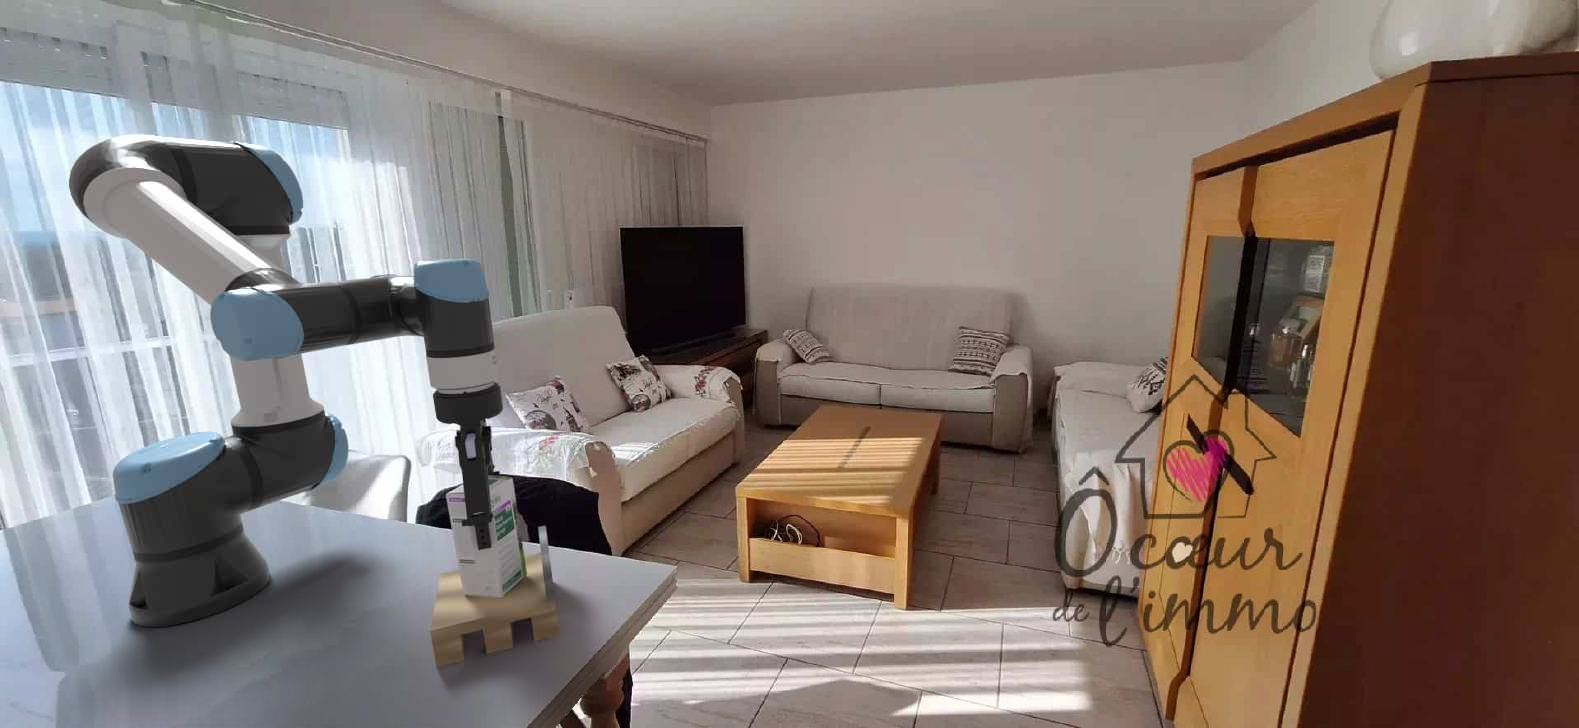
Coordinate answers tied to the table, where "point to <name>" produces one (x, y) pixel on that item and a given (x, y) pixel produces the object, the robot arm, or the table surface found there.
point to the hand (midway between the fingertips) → (490, 547)
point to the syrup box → (507, 537)
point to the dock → (494, 610)
